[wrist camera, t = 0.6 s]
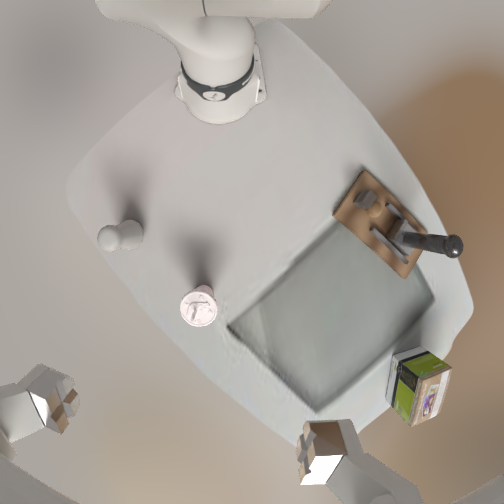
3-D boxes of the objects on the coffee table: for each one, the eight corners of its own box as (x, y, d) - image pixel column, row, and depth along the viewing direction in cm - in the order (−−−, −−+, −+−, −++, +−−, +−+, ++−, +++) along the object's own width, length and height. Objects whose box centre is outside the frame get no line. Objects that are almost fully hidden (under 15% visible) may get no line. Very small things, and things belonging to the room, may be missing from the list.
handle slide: (412, 235, 54) (472, 243, 35) (401, 254, 55) (460, 269, 36) (396, 218, 53) (457, 221, 34) (384, 238, 54) (443, 247, 35)
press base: (426, 236, 56) (442, 238, 51) (402, 277, 57) (416, 283, 51) (362, 171, 54) (375, 166, 48) (332, 215, 54) (343, 215, 48)
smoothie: (182, 287, 54) (166, 310, 40) (209, 272, 54) (201, 290, 40) (199, 314, 55) (189, 343, 41) (226, 299, 55) (224, 325, 41)
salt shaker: (120, 248, 52) (91, 256, 39) (120, 219, 51) (91, 220, 38) (147, 248, 52) (122, 257, 40) (147, 219, 52) (122, 220, 39)
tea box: (412, 388, 62) (439, 415, 47) (384, 399, 61) (409, 429, 47) (421, 344, 60) (454, 367, 46) (391, 353, 60) (422, 381, 45)
